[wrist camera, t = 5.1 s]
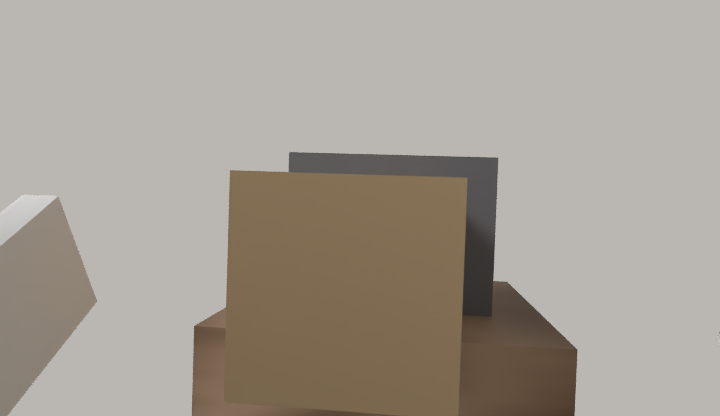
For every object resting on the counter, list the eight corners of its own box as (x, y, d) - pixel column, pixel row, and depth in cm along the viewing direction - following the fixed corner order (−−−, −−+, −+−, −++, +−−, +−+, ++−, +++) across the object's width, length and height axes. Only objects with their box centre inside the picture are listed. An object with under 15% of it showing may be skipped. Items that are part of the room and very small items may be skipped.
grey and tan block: (82, 470, 8) (90, 84, 8) (320, 275, 29) (324, 164, 29) (616, 520, 8) (636, 91, 8) (471, 283, 29) (475, 168, 28)
